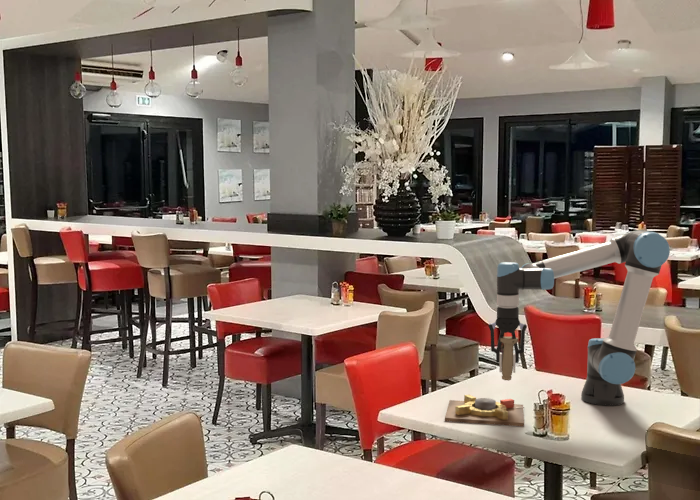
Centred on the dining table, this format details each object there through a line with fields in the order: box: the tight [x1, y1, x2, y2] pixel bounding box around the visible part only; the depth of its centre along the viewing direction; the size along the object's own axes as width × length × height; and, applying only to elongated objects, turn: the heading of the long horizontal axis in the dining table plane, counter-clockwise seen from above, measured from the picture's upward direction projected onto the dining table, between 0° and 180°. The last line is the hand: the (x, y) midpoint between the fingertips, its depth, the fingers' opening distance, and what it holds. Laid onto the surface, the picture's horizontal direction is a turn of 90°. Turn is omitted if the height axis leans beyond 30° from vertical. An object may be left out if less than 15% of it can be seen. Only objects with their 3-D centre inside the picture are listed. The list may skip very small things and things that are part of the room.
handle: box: [500, 336, 519, 381], centre depth 287 cm, size 5×6×15 cm
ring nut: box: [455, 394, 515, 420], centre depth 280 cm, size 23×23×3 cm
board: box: [444, 397, 525, 428], centre depth 280 cm, size 26×22×5 cm
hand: (507, 371), depth 288 cm, fingers closed on handle, 4 cm apart
